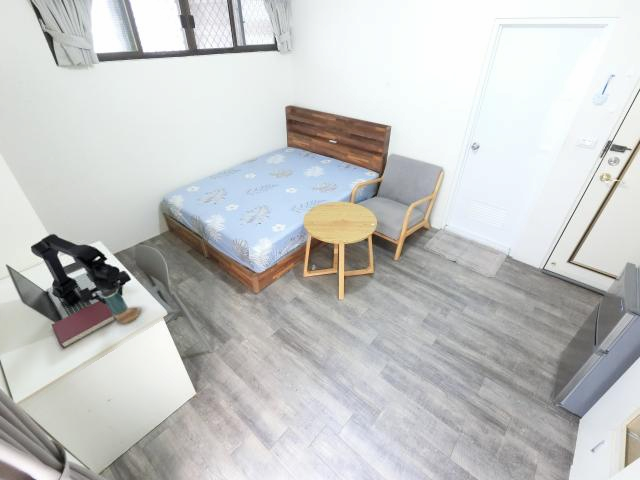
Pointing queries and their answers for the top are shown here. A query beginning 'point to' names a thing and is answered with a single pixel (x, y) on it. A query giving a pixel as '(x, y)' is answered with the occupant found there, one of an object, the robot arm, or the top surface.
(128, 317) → the coaster
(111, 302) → the pencil cup
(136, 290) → the top surface
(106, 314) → the book
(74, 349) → the top surface
